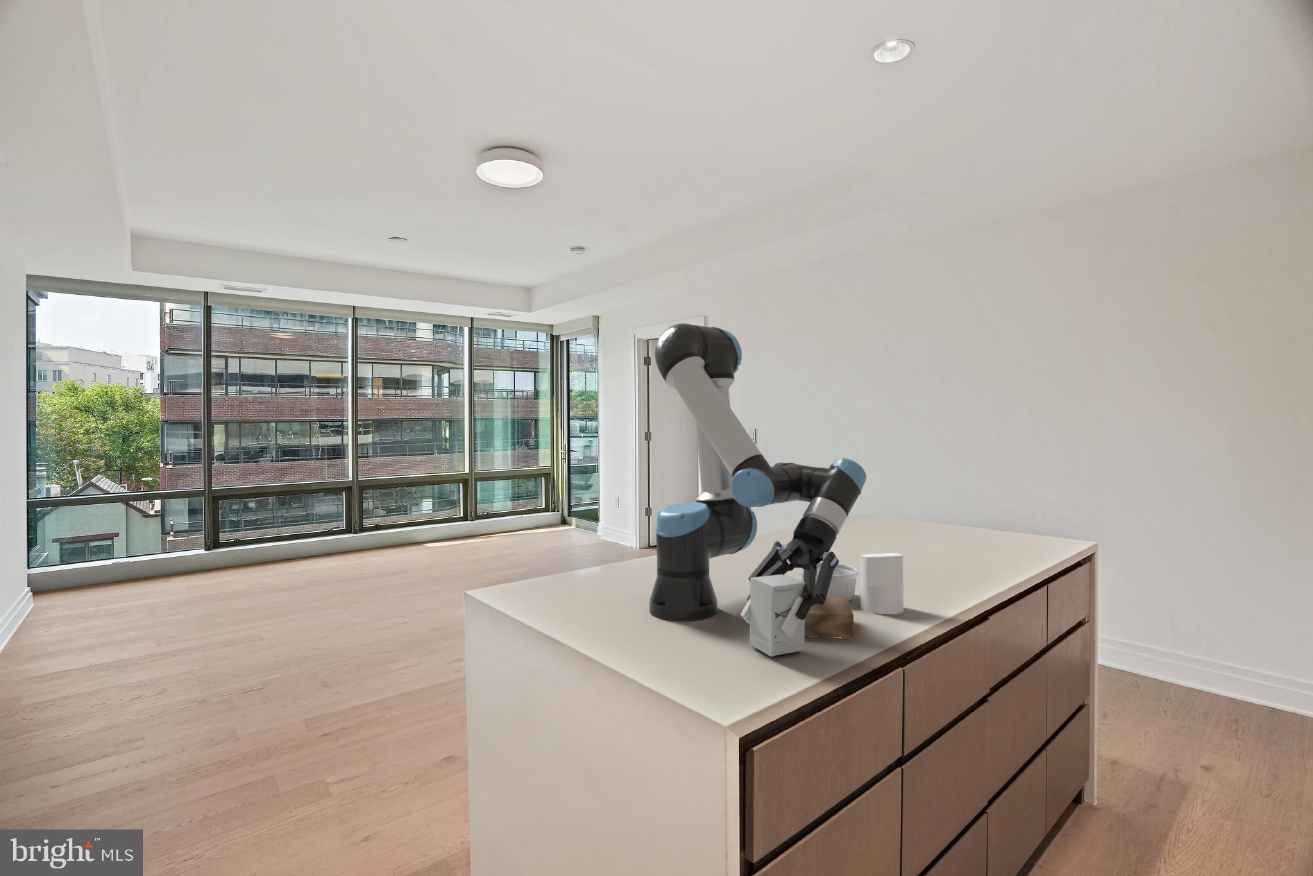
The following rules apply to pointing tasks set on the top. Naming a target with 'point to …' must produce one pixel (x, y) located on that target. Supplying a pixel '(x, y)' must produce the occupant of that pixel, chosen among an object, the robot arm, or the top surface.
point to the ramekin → (839, 581)
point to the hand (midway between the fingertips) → (765, 625)
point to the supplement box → (774, 614)
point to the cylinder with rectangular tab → (882, 583)
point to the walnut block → (830, 619)
